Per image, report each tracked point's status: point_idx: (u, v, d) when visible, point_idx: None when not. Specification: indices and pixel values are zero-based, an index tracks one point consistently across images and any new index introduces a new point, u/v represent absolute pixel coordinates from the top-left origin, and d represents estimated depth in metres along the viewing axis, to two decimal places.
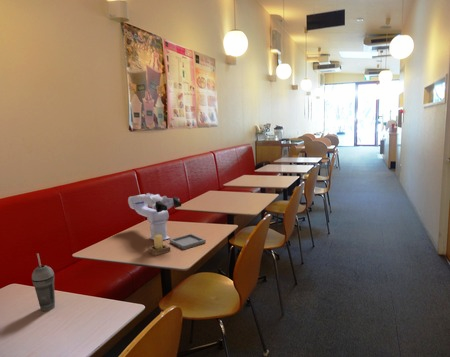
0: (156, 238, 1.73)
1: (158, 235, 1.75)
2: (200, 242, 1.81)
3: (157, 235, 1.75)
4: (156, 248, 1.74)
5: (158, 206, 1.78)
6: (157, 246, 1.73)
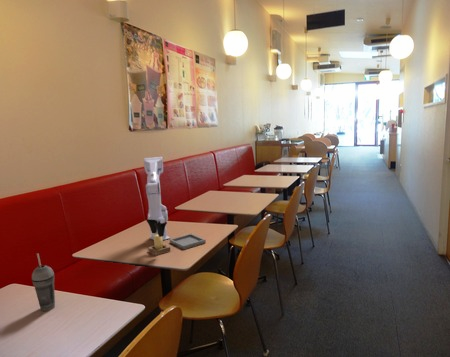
0: (156, 238, 1.73)
1: (158, 235, 1.75)
2: (200, 242, 1.81)
3: (157, 235, 1.75)
4: (156, 248, 1.74)
5: None
6: (157, 246, 1.73)
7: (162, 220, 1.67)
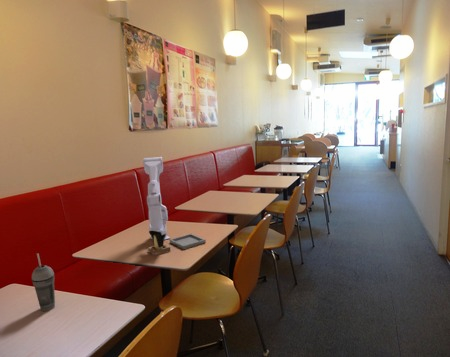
0: None
1: None
2: (200, 242, 1.81)
3: None
4: (156, 248, 1.74)
5: None
6: (157, 246, 1.73)
7: (163, 231, 1.68)
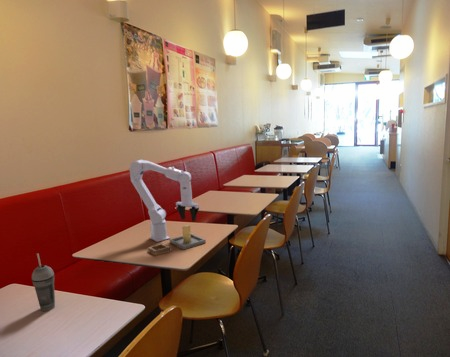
0: (185, 229, 1.82)
1: (186, 226, 1.84)
2: (200, 242, 1.81)
3: (185, 226, 1.84)
4: (185, 239, 1.83)
5: None
6: (185, 237, 1.83)
7: (197, 205, 1.85)
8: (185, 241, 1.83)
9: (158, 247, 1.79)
